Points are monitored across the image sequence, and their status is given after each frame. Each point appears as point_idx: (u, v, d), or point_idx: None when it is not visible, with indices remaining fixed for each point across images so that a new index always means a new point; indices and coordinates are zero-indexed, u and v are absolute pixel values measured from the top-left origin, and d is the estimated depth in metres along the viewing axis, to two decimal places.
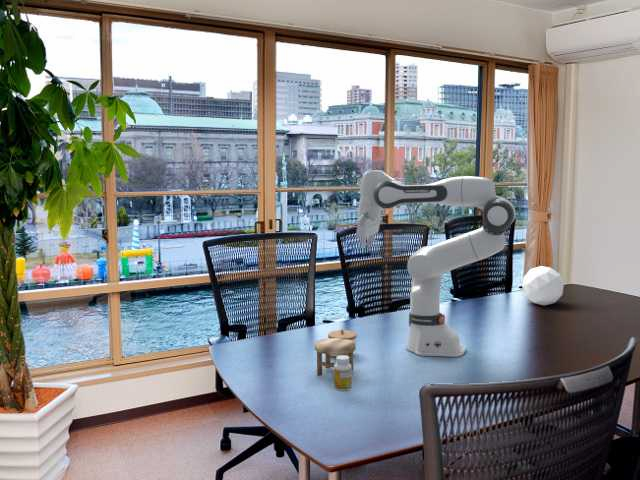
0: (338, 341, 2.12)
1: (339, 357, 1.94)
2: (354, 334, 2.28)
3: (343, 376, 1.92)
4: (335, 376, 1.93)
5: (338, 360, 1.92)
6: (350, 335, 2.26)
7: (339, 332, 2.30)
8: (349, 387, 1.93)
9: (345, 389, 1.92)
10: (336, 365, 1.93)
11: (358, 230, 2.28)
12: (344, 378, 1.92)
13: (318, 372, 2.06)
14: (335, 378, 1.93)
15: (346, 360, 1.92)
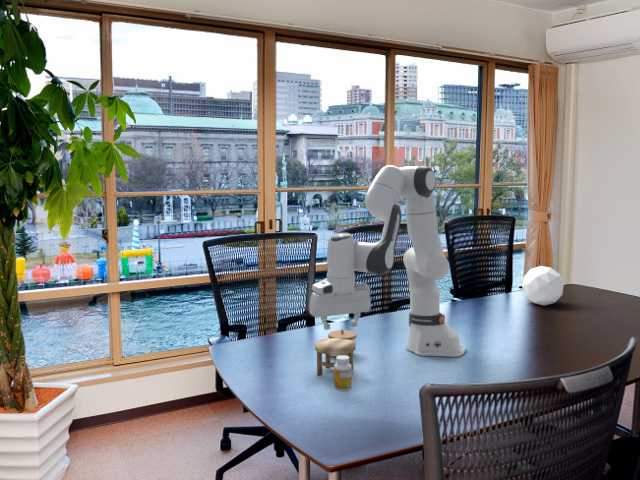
0: (338, 341, 2.12)
1: (339, 357, 1.94)
2: (354, 334, 2.28)
3: (343, 376, 1.92)
4: (335, 376, 1.93)
5: (338, 360, 1.92)
6: (350, 335, 2.26)
7: (339, 332, 2.30)
8: (349, 387, 1.93)
9: (345, 389, 1.92)
10: (336, 365, 1.93)
11: None
12: (344, 378, 1.92)
13: (318, 372, 2.06)
14: (335, 378, 1.93)
15: (346, 360, 1.92)
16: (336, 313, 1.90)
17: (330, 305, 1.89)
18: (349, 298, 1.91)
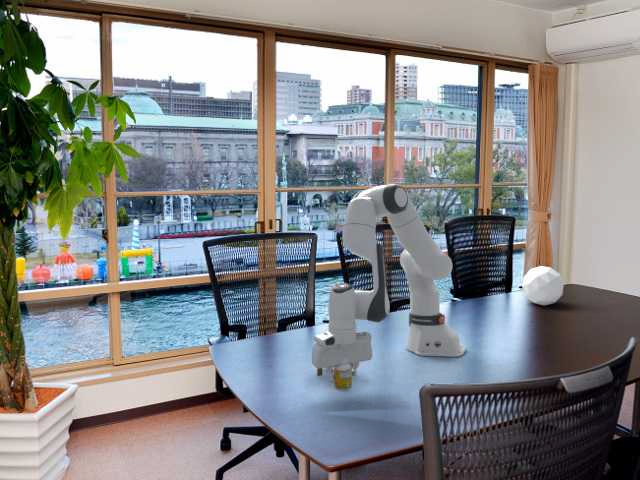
0: None
1: None
2: None
3: (343, 376, 1.92)
4: None
5: None
6: None
7: None
8: (349, 387, 1.93)
9: (345, 389, 1.92)
10: None
11: None
12: (344, 378, 1.92)
13: (318, 372, 2.06)
14: None
15: (346, 360, 1.92)
16: (338, 363, 1.91)
17: (333, 356, 1.90)
18: (351, 348, 1.93)
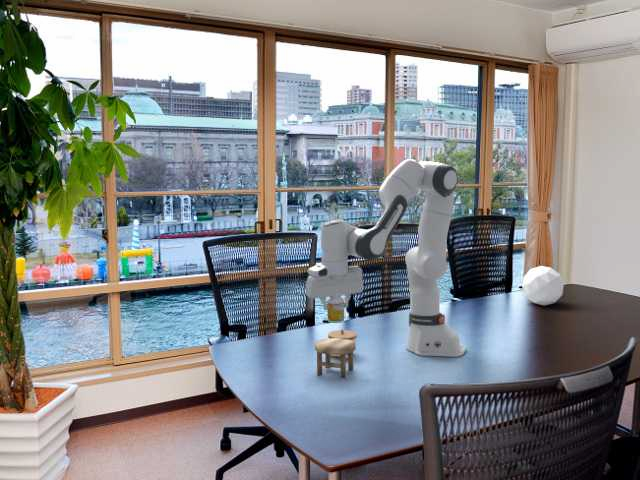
0: (338, 341, 2.12)
1: None
2: (354, 334, 2.28)
3: (336, 309, 2.04)
4: None
5: None
6: (350, 335, 2.26)
7: (339, 332, 2.30)
8: (342, 319, 2.05)
9: (338, 321, 2.04)
10: (329, 299, 2.05)
11: None
12: (337, 311, 2.04)
13: (318, 372, 2.06)
14: (328, 311, 2.05)
15: (338, 294, 2.04)
16: (331, 294, 2.03)
17: (326, 287, 2.02)
18: (343, 280, 2.05)
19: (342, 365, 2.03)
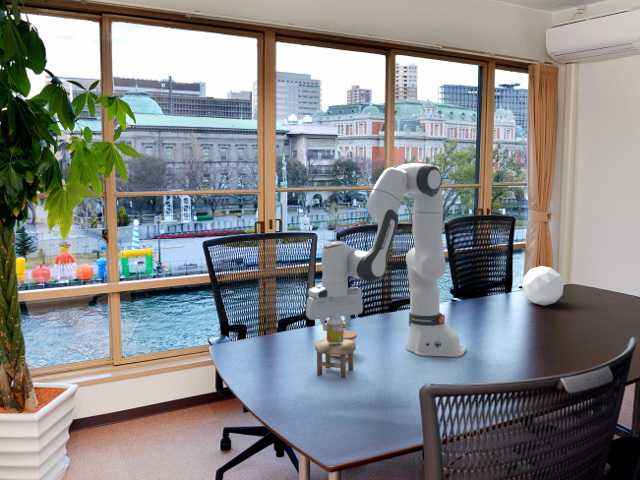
0: None
1: None
2: (354, 334, 2.28)
3: (335, 330, 2.05)
4: (328, 330, 2.06)
5: None
6: (350, 335, 2.26)
7: None
8: (341, 340, 2.06)
9: (337, 342, 2.06)
10: (329, 320, 2.06)
11: None
12: (336, 332, 2.05)
13: (318, 372, 2.06)
14: (328, 332, 2.06)
15: (338, 315, 2.05)
16: (331, 315, 2.04)
17: (325, 308, 2.03)
18: (343, 301, 2.06)
19: (342, 365, 2.03)
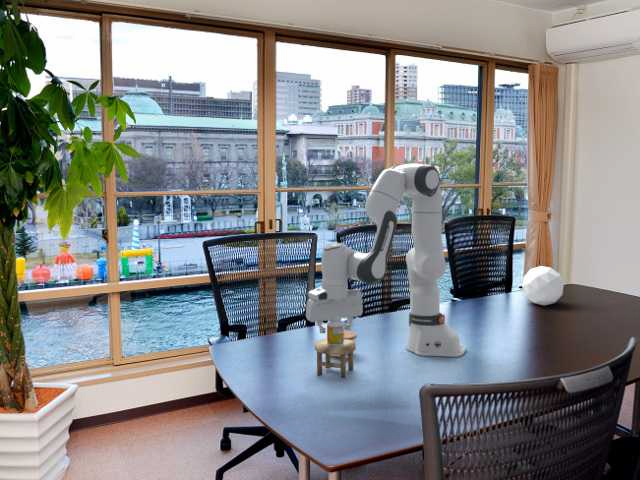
0: None
1: None
2: (354, 334, 2.28)
3: (336, 332, 2.05)
4: (328, 332, 2.06)
5: None
6: (350, 335, 2.26)
7: None
8: (341, 343, 2.06)
9: (337, 344, 2.06)
10: (329, 322, 2.06)
11: None
12: (337, 334, 2.05)
13: (318, 372, 2.06)
14: (328, 334, 2.06)
15: (338, 317, 2.05)
16: (331, 318, 2.05)
17: (325, 310, 2.03)
18: (343, 303, 2.06)
19: (342, 365, 2.03)
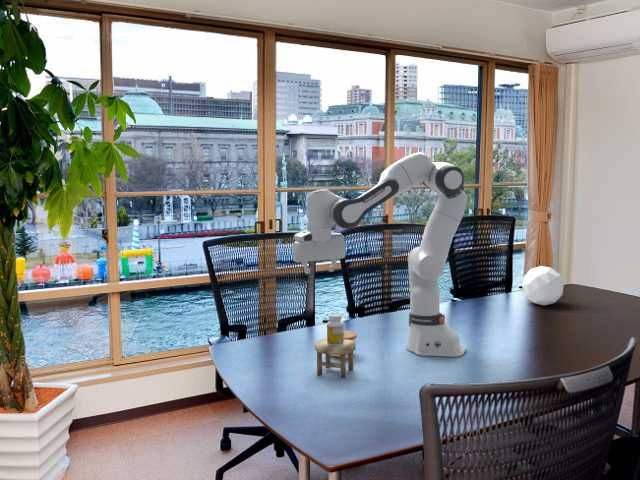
0: None
1: (332, 314, 2.07)
2: (354, 334, 2.28)
3: (336, 332, 2.05)
4: (328, 332, 2.06)
5: (331, 317, 2.06)
6: (350, 335, 2.26)
7: None
8: (341, 343, 2.06)
9: (337, 344, 2.06)
10: (329, 322, 2.06)
11: None
12: (336, 334, 2.05)
13: (318, 372, 2.06)
14: (328, 334, 2.06)
15: (338, 317, 2.05)
16: (315, 259, 2.18)
17: (310, 252, 2.17)
18: (326, 246, 2.20)
19: (342, 365, 2.03)
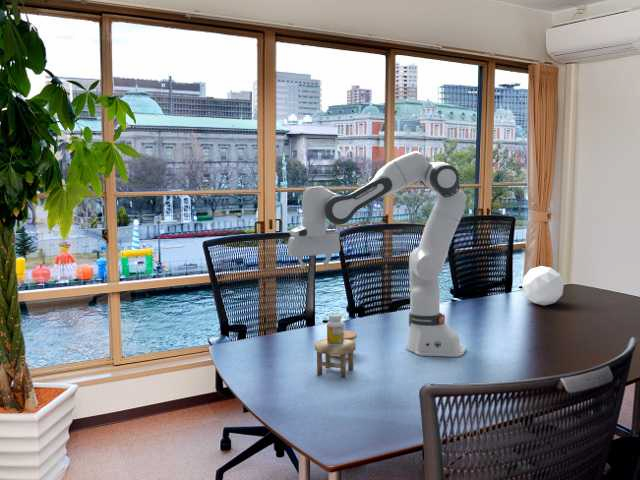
0: None
1: (332, 314, 2.07)
2: (354, 334, 2.28)
3: (336, 332, 2.05)
4: (328, 332, 2.06)
5: (331, 317, 2.06)
6: (350, 335, 2.26)
7: None
8: (341, 343, 2.06)
9: (337, 344, 2.06)
10: (329, 322, 2.06)
11: None
12: (336, 334, 2.05)
13: (318, 372, 2.06)
14: (328, 334, 2.06)
15: (338, 317, 2.05)
16: (310, 254, 2.24)
17: (305, 247, 2.23)
18: (321, 241, 2.25)
19: (342, 365, 2.03)
